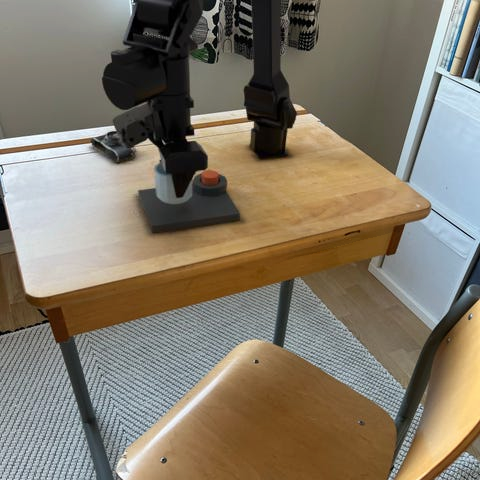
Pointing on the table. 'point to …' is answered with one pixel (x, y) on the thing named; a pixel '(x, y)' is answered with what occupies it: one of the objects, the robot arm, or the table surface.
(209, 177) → the button
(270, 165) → the table surface
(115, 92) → the robot arm
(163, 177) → the cup
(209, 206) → the grey base plate
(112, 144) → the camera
